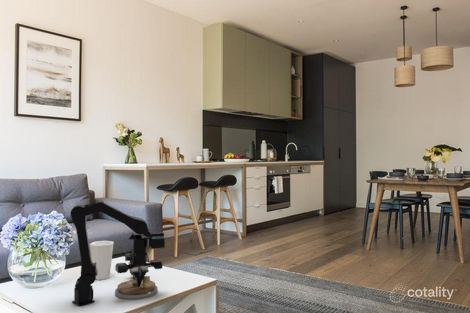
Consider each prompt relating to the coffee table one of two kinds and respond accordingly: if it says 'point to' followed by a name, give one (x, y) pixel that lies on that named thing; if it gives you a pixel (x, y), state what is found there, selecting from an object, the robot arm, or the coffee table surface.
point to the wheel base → (137, 296)
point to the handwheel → (136, 286)
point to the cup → (102, 257)
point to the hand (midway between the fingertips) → (138, 286)
